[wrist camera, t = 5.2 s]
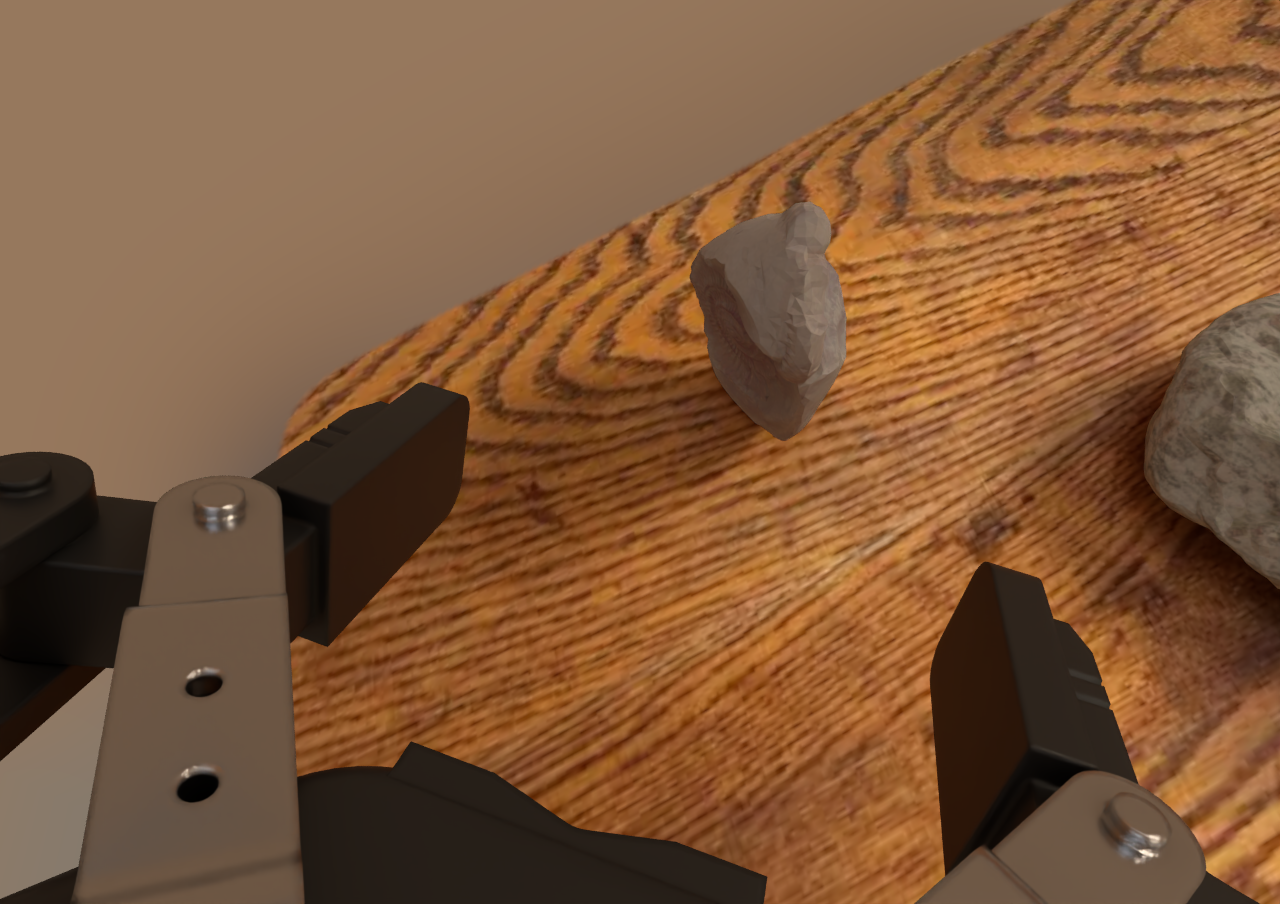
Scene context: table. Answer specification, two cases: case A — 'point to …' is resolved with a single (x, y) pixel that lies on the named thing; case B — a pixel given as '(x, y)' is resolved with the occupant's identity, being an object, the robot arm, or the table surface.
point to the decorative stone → (1225, 434)
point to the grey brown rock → (773, 315)
